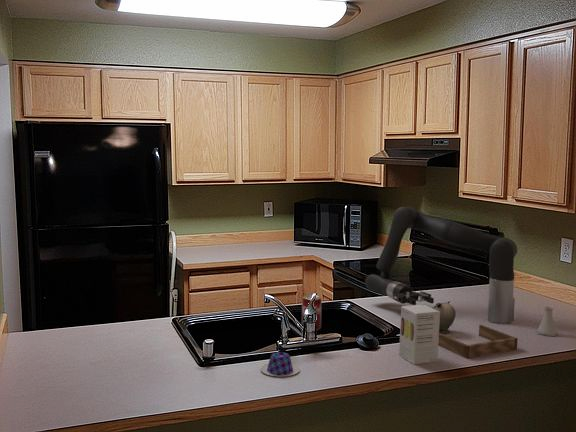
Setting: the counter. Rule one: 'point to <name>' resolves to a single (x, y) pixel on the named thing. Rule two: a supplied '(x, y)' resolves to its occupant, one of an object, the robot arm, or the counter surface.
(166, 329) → the counter surface
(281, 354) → the pudding
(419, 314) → the supplement box
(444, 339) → the frame
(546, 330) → the flask
